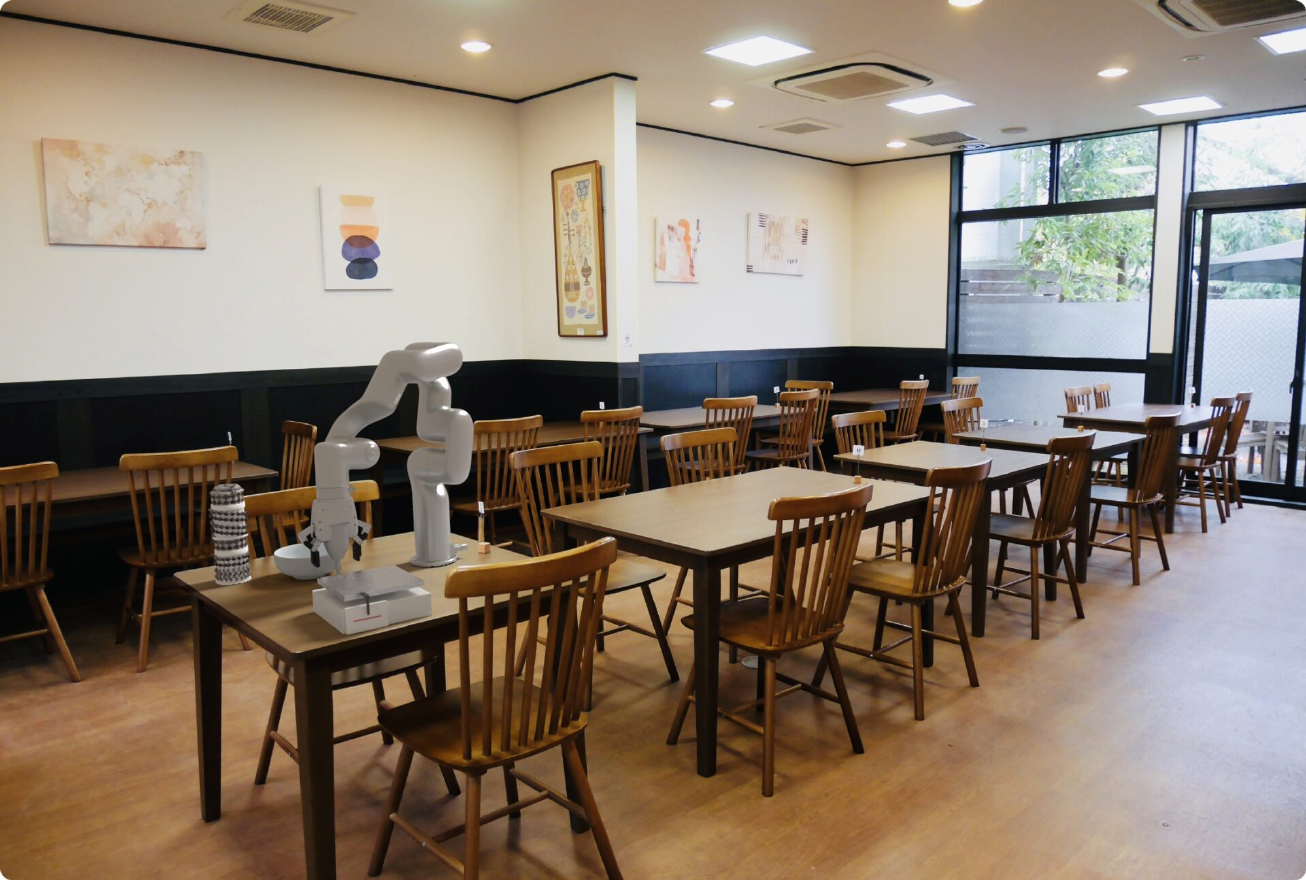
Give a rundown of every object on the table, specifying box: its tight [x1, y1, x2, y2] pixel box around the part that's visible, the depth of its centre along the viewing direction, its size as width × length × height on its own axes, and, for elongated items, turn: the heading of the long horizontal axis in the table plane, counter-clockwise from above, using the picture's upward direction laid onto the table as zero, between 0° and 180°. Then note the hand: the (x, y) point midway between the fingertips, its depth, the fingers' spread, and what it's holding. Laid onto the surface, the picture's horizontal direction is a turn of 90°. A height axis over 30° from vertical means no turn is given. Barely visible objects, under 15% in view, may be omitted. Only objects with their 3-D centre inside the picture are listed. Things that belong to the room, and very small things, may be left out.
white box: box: [316, 564, 425, 615], centre depth 208 cm, size 18×21×6 cm
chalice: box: [322, 523, 351, 575], centre depth 223 cm, size 7×7×18 cm
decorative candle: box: [207, 483, 252, 586], centre depth 237 cm, size 9×9×25 cm
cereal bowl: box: [273, 542, 343, 581], centre depth 242 cm, size 17×17×7 cm
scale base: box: [311, 587, 433, 635], centre depth 209 cm, size 20×21×6 cm
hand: (336, 563), depth 223 cm, fingers open, 9 cm apart
